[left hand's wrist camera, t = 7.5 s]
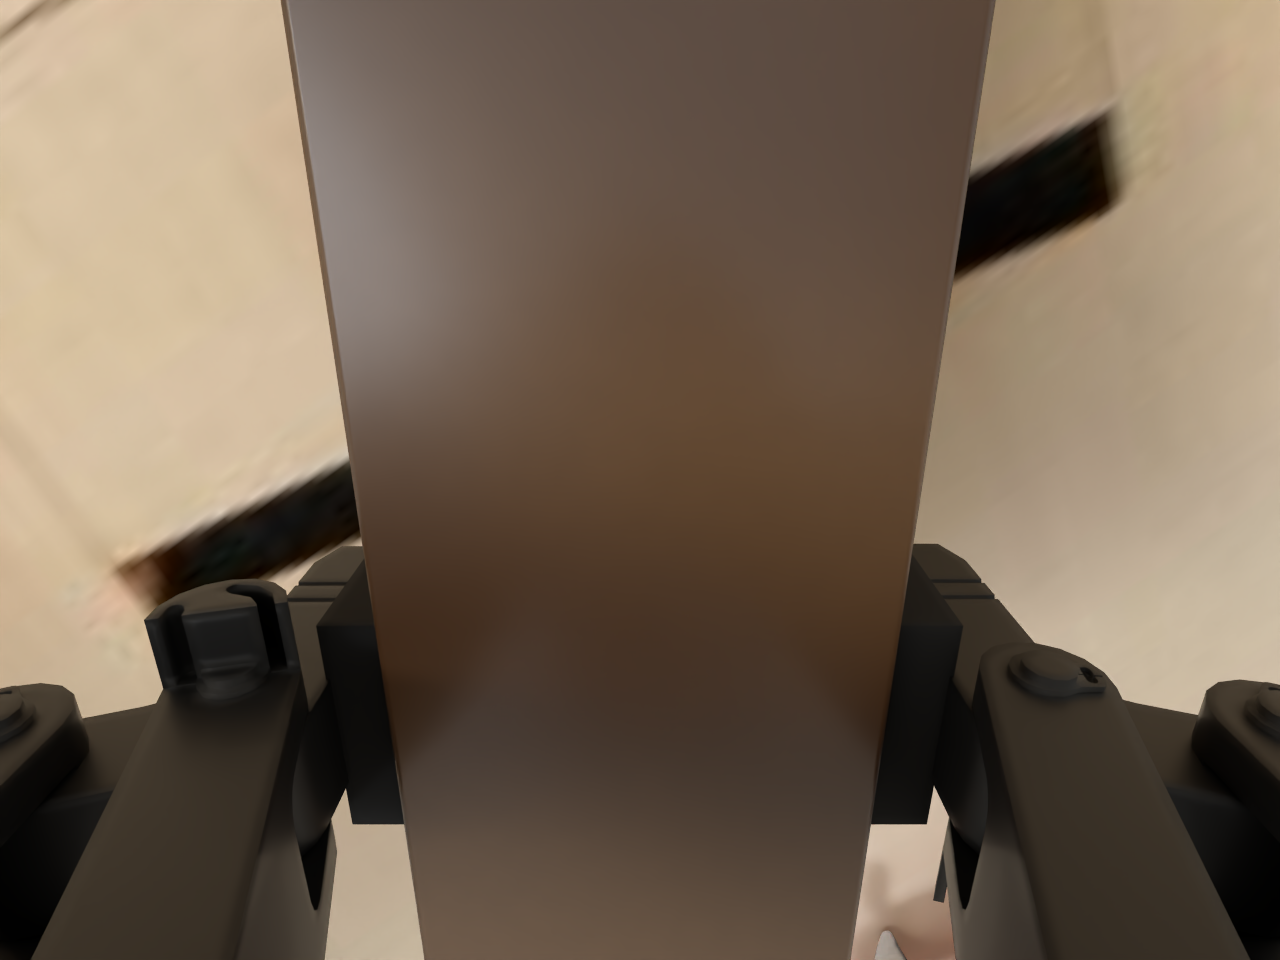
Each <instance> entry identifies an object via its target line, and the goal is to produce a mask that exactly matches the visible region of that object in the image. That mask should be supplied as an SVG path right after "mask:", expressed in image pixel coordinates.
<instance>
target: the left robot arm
mask: <svg viewBox="0 0 1280 960" xmlns="http://www.w3.org/2000/svg"><path fill="white" fill-rule="evenodd" d="M144 622H145V625H146V629H147V632H148V636H149V639H150V643H151V646H152V650H153V654H154V657H155V661H156V664H157V668H158V671H159V675H160V678H161V682H162V685H163V691H162V693H161V695H160V697H159V699H158V701H157V703H156V704H152V705H148V706H144V707H140V708H134V709H129V710H124V711H119V712H114V713H109V714H104V715H98V716H93V717H88V718H83V719H82V717H81V714H80V711H79V708H78V705H77V702H76V699H75V696H74V694H73V693H72V692H70V691H69V690H67V689H66V688H64V687H63V686H60V685H51V684H43V683H38V684H30V685H22V686H10V687H6V688H1V689H0V960H324V959H325V951H326V942H327V933H328V925H329V916H330V908H331V899H332V890H333V882H334V873H335V865H336V856H337V848H336V842H335V836H334V831H333V826H332V821H331V818H332V816H333V814H334V812H335V810H336V808H337V806H338V804H339V801H340V799H341V797H342V795H343V793H344V791H345V789H346V791H347V796H348V801H349V807H350V812H351V818H352V823H353V824H404V819H403V812H402V805H401V799H400V792H399V785H398V779H397V772H396V765H395V759H394V752H393V745H392V739H391V732H390V725H389V719H388V712H387V705H386V699H385V692H384V685H383V679H382V672H381V665H380V659H379V652H378V645H377V639H376V632H375V625H374V619H373V612H372V605H371V599H370V592H369V585H368V579H367V572H366V565H365V559H364V552H363V546H342V547H340V548H339V549H337V550H335V551H334V552H332V553H330V554H329V555H327V556H325V557H324V558H322V559H320V560H319V561H317V562H315V563H314V564H313V565H312V567H311V568H310V569H309V570H308V571H307V573H306V574H305V575H304V576H303V577H302V579H301V580H300V581H299V585H298V586H295V587H294V588H293V589H292V591H291V592H290V593H289V594H288V595H287V594H286V590H284V589H283V588H281V587H280V586H279V585H277V584H276V583H274V582H268V581H263V580H258V579H240V580H228V581H223V582H218V583H213V584H207V585H203V586H201V587H198V588H195V589H192V590H189V591H187V592H184V593H181V594H178V595H177V596H175V597H173V598H171V599H170V600H168V601H166V602H165V603H163V604H161V605H159V606H158V607H157V608H156V609H155V610H154V611H153V612H152V613H151V614H150V615H149V616H148V617H147V618H146V619H145V620H144ZM934 786H935V788H936V790H937V792H938V795H939V797H940V799H941V801H942V803H943V805H944V807H945V809H946V811H947V813H948V815H949V821H948V826H947V831H946V836H945V841H944V846H943V851H942V856H941V861H940V866H939V871H938V876H937V881H936V886H935V893H934V899H933V900H934V901H938V902H943V903H944V898H945V893H946V889H948V897H949V906H950V914H951V923H952V931H953V940H954V948H955V957H956V960H1280V685H1278V684H1273V683H1269V682H1255V681H1247V680H1232V681H1224V682H1218V683H1217V684H1215V685H1214V686H1212V687H1211V688H1209V689H1208V690H1207V691H1206V694H1205V697H1204V700H1203V703H1202V706H1201V709H1200V712H1199V714H1198V715H1194V714H1189V713H1184V712H1179V711H1173V710H1168V709H1163V708H1158V707H1153V706H1147V705H1142V704H1137V703H1133V702H1129V701H1125V700H1122V697H1121V695H1120V693H1119V691H1118V689H1117V688H1116V686H1115V685H1114V684H1113V683H1112V681H1111V680H1110V679H1109V678H1108V677H1107V675H1106V674H1105V673H1104V672H1103V671H1101V670H1100V669H1098V668H1097V667H1095V666H1094V665H1092V664H1091V663H1089V662H1088V661H1086V660H1085V659H1083V658H1080V657H1078V656H1076V655H1073V654H1071V653H1068V652H1066V651H1064V650H1061V649H1058V648H1054V647H1049V646H1045V645H1041V644H1036V643H1034V642H1033V640H1032V639H1031V638H1030V637H1029V636H1028V634H1027V633H1026V632H1025V631H1024V630H1023V629H1022V627H1021V626H1020V625H1019V624H1018V623H1017V621H1016V620H1015V619H1014V618H1013V617H1012V615H1011V614H1010V613H1009V612H1008V611H1007V609H1006V608H1005V607H1004V606H1003V605H1002V603H1001V602H1000V601H999V600H998V599H995V598H994V594H993V593H992V592H991V590H990V589H989V588H988V587H987V586H986V584H985V583H981V578H980V577H979V576H978V575H977V574H976V572H975V571H974V570H973V569H972V568H971V567H970V565H969V564H968V563H967V562H966V561H965V560H964V559H962V558H961V557H959V556H957V555H956V554H954V553H952V552H950V551H949V550H947V549H945V548H944V547H942V546H940V545H939V544H913V549H912V555H911V562H910V569H909V575H908V582H907V588H906V595H905V602H904V608H903V615H902V622H901V628H900V635H899V641H898V648H897V655H896V661H895V668H894V674H893V681H892V688H891V694H890V701H889V707H888V714H887V721H886V727H885V734H884V740H883V747H882V754H881V760H880V767H879V773H878V780H877V787H876V793H875V800H874V806H873V813H872V820H871V824H927V820H928V815H929V809H930V804H931V798H932V793H933V787H934Z"/></svg>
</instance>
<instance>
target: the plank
mask: <svg viewBox="0 0 1280 960" xmlns="http://www.w3.org/2000/svg"><path fill="white" fill-rule="evenodd" d="M995 1H996V0H281V5H282V12H283V19H284V25H285V32H286V39H287V45H288V52H289V59H290V65H291V72H292V79H293V85H294V92H295V99H296V105H297V112H298V119H299V125H300V132H301V139H302V145H303V152H304V159H305V165H306V172H307V179H308V185H309V192H310V199H311V205H312V212H313V219H314V225H315V232H316V239H317V245H318V252H319V259H320V265H321V272H322V279H323V285H324V292H325V299H326V305H327V312H328V319H329V325H330V332H331V339H332V345H333V352H334V359H335V365H336V372H337V379H338V385H339V392H340V399H341V405H342V412H343V419H344V425H345V432H346V439H347V445H348V452H349V459H350V465H351V472H352V479H353V485H354V492H355V499H356V505H357V512H358V519H359V525H360V532H361V539H362V545H363V552H364V559H365V565H366V572H367V579H368V585H369V592H370V599H371V605H372V612H373V619H374V625H375V632H376V639H377V645H378V652H379V659H380V665H381V672H382V679H383V685H384V692H385V699H386V705H387V712H388V719H389V725H390V732H391V739H392V745H393V752H394V759H395V765H396V772H397V779H398V785H399V792H400V799H401V805H402V812H403V819H404V825H405V832H406V839H407V845H408V852H409V859H410V865H411V872H412V879H413V885H414V892H415V899H416V905H417V912H418V919H419V925H420V932H421V939H422V945H423V952H424V959H425V960H850V958H851V952H852V945H853V938H854V932H855V925H856V919H857V912H858V905H859V899H860V892H861V886H862V879H863V872H864V866H865V859H866V853H867V846H868V839H869V833H870V826H871V820H872V813H873V806H874V800H875V793H876V787H877V780H878V773H879V767H880V760H881V754H882V747H883V740H884V734H885V727H886V721H887V714H888V707H889V701H890V694H891V688H892V681H893V674H894V668H895V661H896V655H897V648H898V641H899V635H900V628H901V622H902V615H903V608H904V602H905V595H906V588H907V582H908V575H909V569H910V562H911V555H912V549H913V542H914V536H915V529H916V522H917V516H918V509H919V503H920V496H921V489H922V483H923V476H924V470H925V463H926V456H927V450H928V443H929V437H930V430H931V423H932V417H933V410H934V404H935V397H936V390H937V384H938V377H939V371H940V364H941V357H942V351H943V344H944V338H945V331H946V324H947V318H948V311H949V305H950V298H951V291H952V285H953V278H954V272H955V265H956V258H957V252H958V245H959V238H960V232H961V225H962V219H963V212H964V205H965V199H966V192H967V186H968V179H969V172H970V166H971V159H972V153H973V146H974V139H975V133H976V126H977V120H978V113H979V106H980V100H981V93H982V87H983V80H984V73H985V67H986V60H987V54H988V47H989V40H990V34H991V27H992V21H993V14H994V7H995Z"/></svg>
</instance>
